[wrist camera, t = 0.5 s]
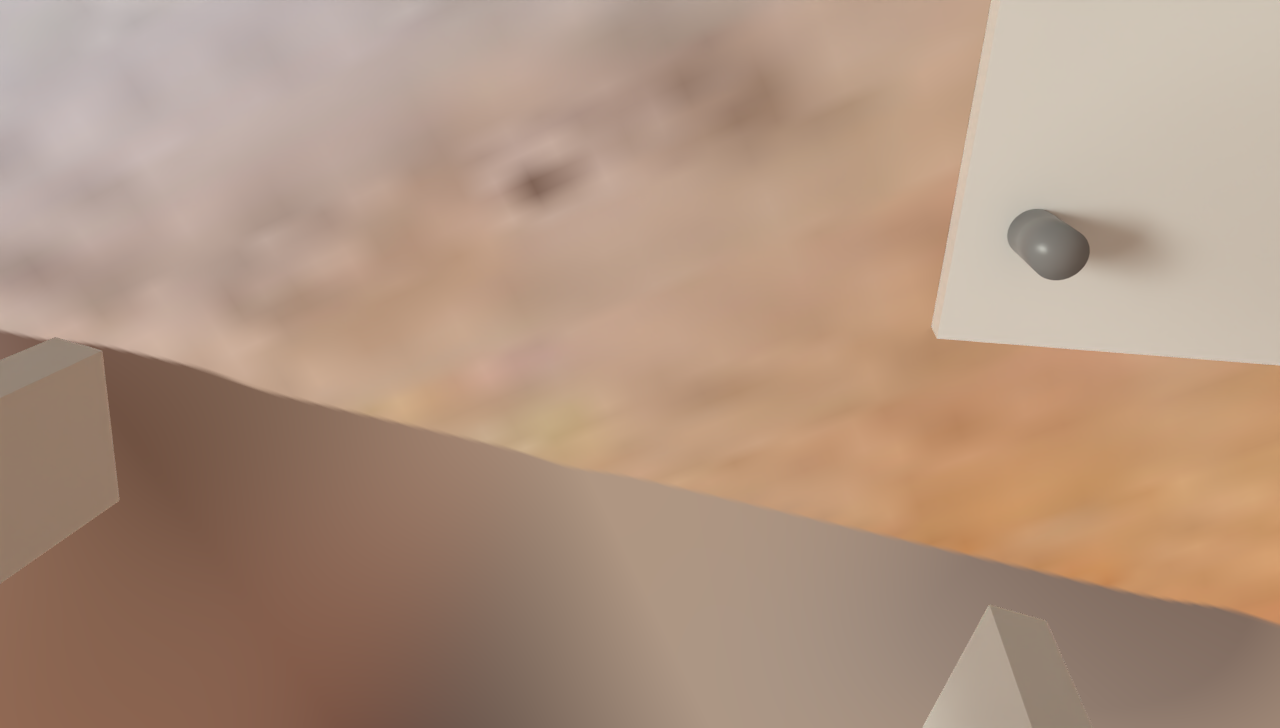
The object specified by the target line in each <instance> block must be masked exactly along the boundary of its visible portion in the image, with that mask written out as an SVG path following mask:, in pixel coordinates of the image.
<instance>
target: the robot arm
mask: <svg viewBox="0 0 1280 728" xmlns="http://www.w3.org/2000/svg"><path fill="white" fill-rule="evenodd" d="M118 501H119V492H118V483H117V475H116V466H115V457H114V449H113V440H112V432H111V423H110V414H109V405H108V397H107V388H106V379H105V371H104V362H103V354H102V350H98V349H94V348H91V347H88V346H84V345H81V344H77V343H74V342H70V341H67V340H63V339H60V338H56V337H55V338H52V339H50V340H48V341H45V342H43V343H40V344H38V345H36V346H33V347H31V348H28V349H26V350H24V351H21V352H19V353H16V354H14V355H12V356H9V357H7V358H4V359H2V360H0V583H2V582H3V581H5V580H6V579H7V578H9V577H11V576H12V575H13V574H15V573H16V572H18V571H19V570H21V569H22V568H23V567H25V566H26V565H28V564H29V563H31V562H32V561H33V560H35V559H36V558H38V557H39V556H40V555H42V554H43V553H45V552H46V551H48V550H49V549H50V548H52V547H53V546H55V545H56V544H58V543H59V542H61V541H62V540H63V539H65V538H66V537H68V536H69V535H71V534H72V533H74V532H75V531H76V530H78V529H79V528H81V527H82V526H84V525H85V524H86V523H88V522H89V521H91V520H92V519H94V518H95V517H96V516H98V515H99V514H101V513H102V512H104V511H105V510H106V509H108V508H109V507H111V506H112V505H114V504H115V503H116V502H118ZM922 728H1093V726H1092V724H1091V722H1090V720H1089V717H1088V715H1087V713H1086V711H1085V708H1084V706H1083V703H1082V701H1081V699H1080V697H1079V694H1078V692H1077V690H1076V687H1075V685H1074V683H1073V680H1072V678H1071V676H1070V673H1069V671H1068V669H1067V667H1066V664H1065V662H1064V660H1063V657H1062V655H1061V653H1060V650H1059V648H1058V646H1057V643H1056V641H1055V639H1054V637H1053V634H1052V632H1051V630H1050V627H1049V625H1048V623H1047V621H1046V620H1043V619H1040V618H1036V617H1033V616H1029V615H1026V614H1022V613H1019V612H1015V611H1011V610H1008V609H1005V608H1001V607H998V606H994V605H990V604H989V606H988V607H987V609H986V611H985V613H984V615H983V617H982V618H981V620H980V622H979V624H978V626H977V628H976V629H975V631H974V633H973V635H972V637H971V639H970V641H969V642H968V644H967V646H966V648H965V650H964V652H963V654H962V655H961V657H960V659H959V661H958V663H957V665H956V667H955V668H954V670H953V672H952V674H951V676H950V677H949V680H948V681H947V683H946V685H945V687H944V689H943V690H942V692H941V694H940V696H939V698H938V700H937V702H936V703H935V706H934V707H933V709H932V711H931V713H930V715H929V716H928V718H927V720H926V722H925V724H924V726H923V727H922Z"/></svg>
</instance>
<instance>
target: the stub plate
mask: <svg viewBox="0 0 1280 728" xmlns="http://www.w3.org/2000/svg"><path fill="white" fill-rule="evenodd" d="M931 327H932V329H933V331H934V333H935V336H936V338H937V339H950V340H963V341H975V342H988V343H1001V344H1013V345H1026V346H1039V347H1052V348H1064V349H1077V350H1090V351H1103V352H1115V353H1128V354H1141V355H1153V356H1166V357H1179V358H1192V359H1204V360H1217V361H1230V362H1243V363H1255V364H1268V365H1280V0H991V5H990V10H989V15H988V21H987V26H986V32H985V37H984V43H983V48H982V54H981V59H980V64H979V70H978V75H977V81H976V86H975V92H974V97H973V103H972V108H971V113H970V119H969V124H968V130H967V135H966V141H965V146H964V152H963V157H962V162H961V168H960V173H959V179H958V184H957V190H956V195H955V201H954V206H953V212H952V217H951V222H950V228H949V233H948V239H947V244H946V250H945V255H944V261H943V266H942V271H941V277H940V282H939V288H938V293H937V299H936V304H935V310H934V315H933V320H932V326H931Z"/></svg>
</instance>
